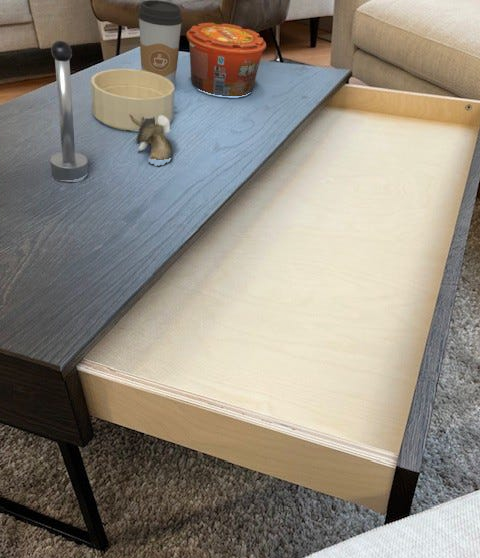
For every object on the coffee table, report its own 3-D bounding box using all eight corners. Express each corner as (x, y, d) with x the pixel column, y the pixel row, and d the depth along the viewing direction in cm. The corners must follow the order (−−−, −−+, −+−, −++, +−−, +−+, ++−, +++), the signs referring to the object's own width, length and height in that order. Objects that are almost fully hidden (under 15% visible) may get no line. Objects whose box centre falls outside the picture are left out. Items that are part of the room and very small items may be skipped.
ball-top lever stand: (45, 178, 90) (32, 42, 78) (59, 163, 94) (49, 32, 82) (80, 185, 90) (72, 50, 78) (93, 170, 94) (87, 39, 82)
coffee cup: (137, 91, 121) (137, 9, 111) (137, 76, 127) (138, -3, 118) (180, 95, 123) (184, 14, 113) (178, 80, 129) (182, 2, 119)
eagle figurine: (116, 135, 102) (125, 150, 95) (138, 98, 101) (149, 110, 93) (155, 159, 106) (166, 175, 99) (177, 124, 105) (190, 137, 98)
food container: (275, 94, 131) (282, 41, 124) (221, 108, 121) (227, 51, 114) (222, 69, 138) (227, 18, 131) (167, 80, 128) (169, 25, 121)
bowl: (80, 123, 106) (78, 88, 102) (107, 95, 117) (107, 63, 114) (161, 139, 106) (162, 105, 102) (181, 109, 117) (182, 78, 113)
